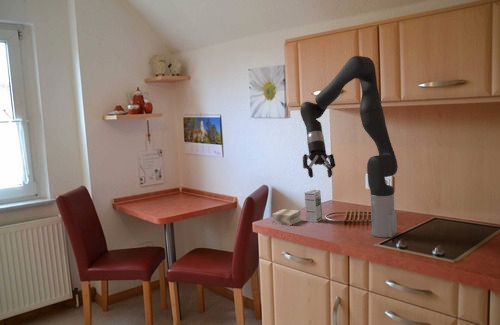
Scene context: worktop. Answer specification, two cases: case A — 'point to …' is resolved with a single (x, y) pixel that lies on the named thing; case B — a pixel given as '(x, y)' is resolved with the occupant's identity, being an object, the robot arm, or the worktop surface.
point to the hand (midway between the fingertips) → (320, 177)
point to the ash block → (286, 217)
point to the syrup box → (313, 205)
